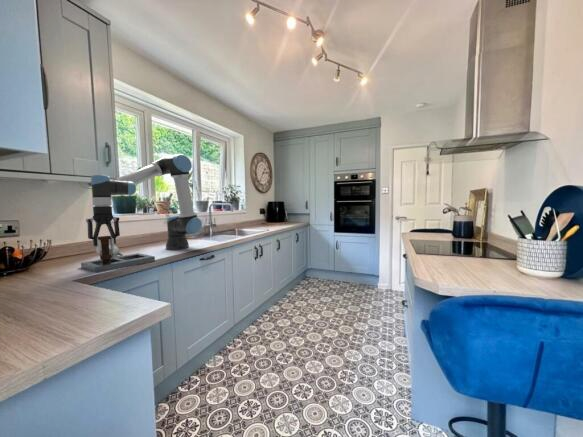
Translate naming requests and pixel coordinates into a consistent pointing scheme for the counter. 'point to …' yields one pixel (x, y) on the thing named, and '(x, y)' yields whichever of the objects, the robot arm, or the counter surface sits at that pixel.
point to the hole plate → (117, 262)
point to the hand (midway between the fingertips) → (105, 251)
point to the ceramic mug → (113, 252)
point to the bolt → (105, 249)
